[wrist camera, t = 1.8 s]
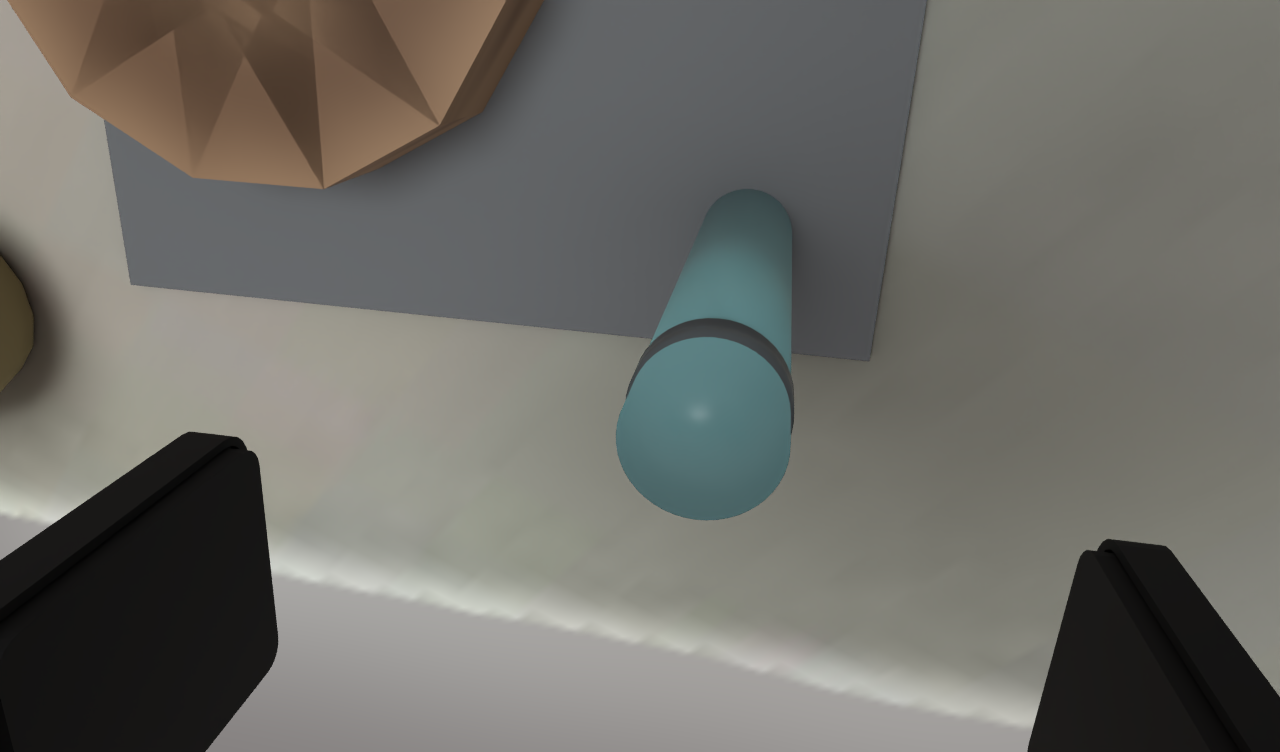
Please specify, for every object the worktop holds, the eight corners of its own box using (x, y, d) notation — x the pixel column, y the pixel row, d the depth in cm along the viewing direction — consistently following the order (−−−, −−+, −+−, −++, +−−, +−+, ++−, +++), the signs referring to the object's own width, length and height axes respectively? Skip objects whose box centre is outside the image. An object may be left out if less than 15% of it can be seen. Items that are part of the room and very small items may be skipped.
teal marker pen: (798, 191, 26) (804, 369, 13) (788, 283, 27) (783, 533, 14) (703, 183, 26) (616, 349, 13) (696, 274, 27) (608, 511, 14)
